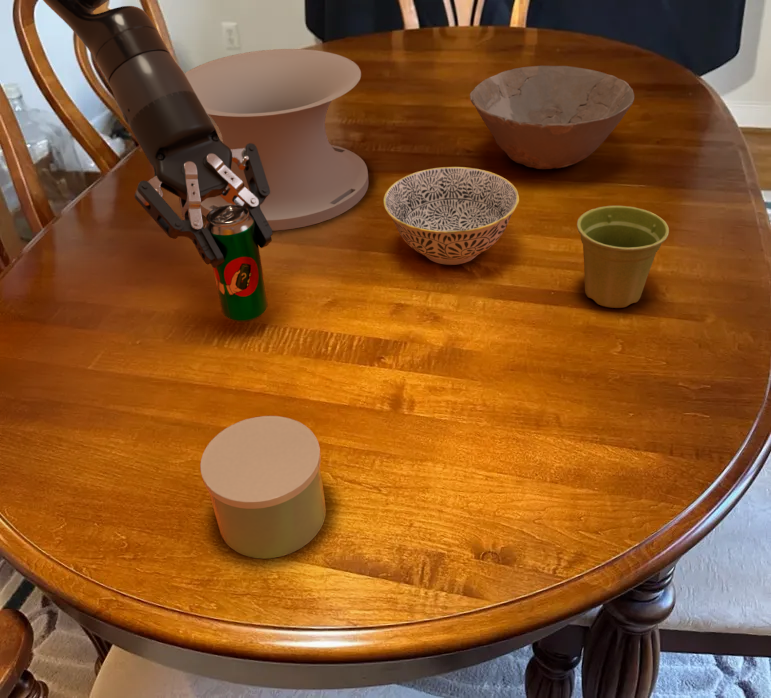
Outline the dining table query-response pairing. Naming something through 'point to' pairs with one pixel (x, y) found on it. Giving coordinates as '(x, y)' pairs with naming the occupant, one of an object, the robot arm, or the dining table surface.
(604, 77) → the ceramic bowl
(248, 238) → the soda can
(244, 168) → the robot arm
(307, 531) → the canister
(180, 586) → the dining table surface
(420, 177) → the bowl
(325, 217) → the vase
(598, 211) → the plant pot
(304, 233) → the dining table surface
